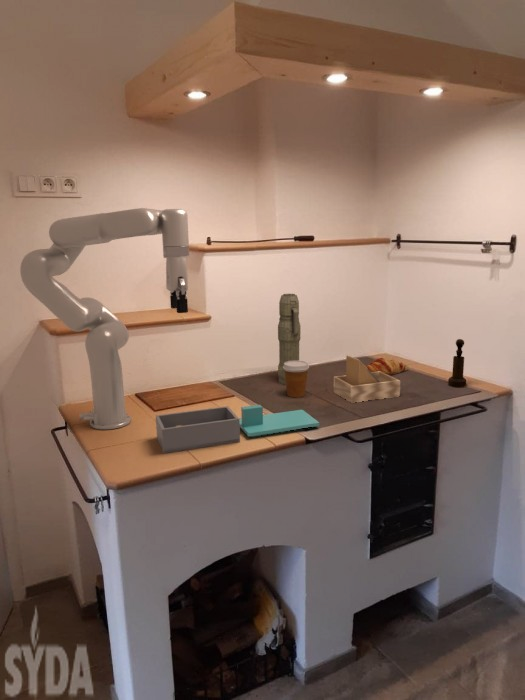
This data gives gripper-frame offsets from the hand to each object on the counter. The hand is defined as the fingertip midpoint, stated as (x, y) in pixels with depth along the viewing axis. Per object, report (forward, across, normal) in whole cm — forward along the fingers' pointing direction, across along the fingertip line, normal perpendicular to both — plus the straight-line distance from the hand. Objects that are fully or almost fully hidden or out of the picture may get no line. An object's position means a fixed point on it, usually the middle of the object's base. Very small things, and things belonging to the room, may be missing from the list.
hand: (179, 310), depth 159 cm
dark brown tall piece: (+36, -2, +106) cm, 112 cm away
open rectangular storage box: (+36, -5, +68) cm, 77 cm away
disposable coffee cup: (+36, -14, +44) cm, 59 cm away
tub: (+36, +14, +1) cm, 39 cm away
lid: (+36, +13, +26) cm, 47 cm away
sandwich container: (+37, -5, +69) cm, 79 cm away
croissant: (+37, -28, +90) cm, 101 cm away
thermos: (+36, -30, +48) cm, 67 cm away
